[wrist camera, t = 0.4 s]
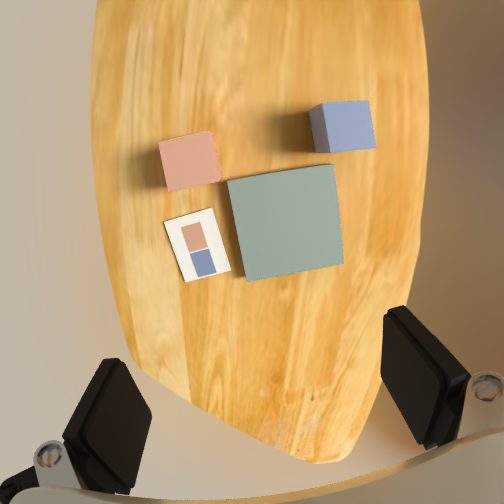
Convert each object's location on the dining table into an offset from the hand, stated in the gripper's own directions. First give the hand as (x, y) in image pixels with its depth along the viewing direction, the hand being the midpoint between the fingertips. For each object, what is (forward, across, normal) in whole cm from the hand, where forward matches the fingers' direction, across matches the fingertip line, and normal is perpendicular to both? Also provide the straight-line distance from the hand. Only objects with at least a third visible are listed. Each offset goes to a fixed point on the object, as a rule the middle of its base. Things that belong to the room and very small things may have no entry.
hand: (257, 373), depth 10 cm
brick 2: (+27, -12, -8) cm, 30 cm away
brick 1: (+27, +4, -8) cm, 28 cm away
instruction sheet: (+27, +6, +2) cm, 27 cm away
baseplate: (+27, -5, +1) cm, 27 cm away
